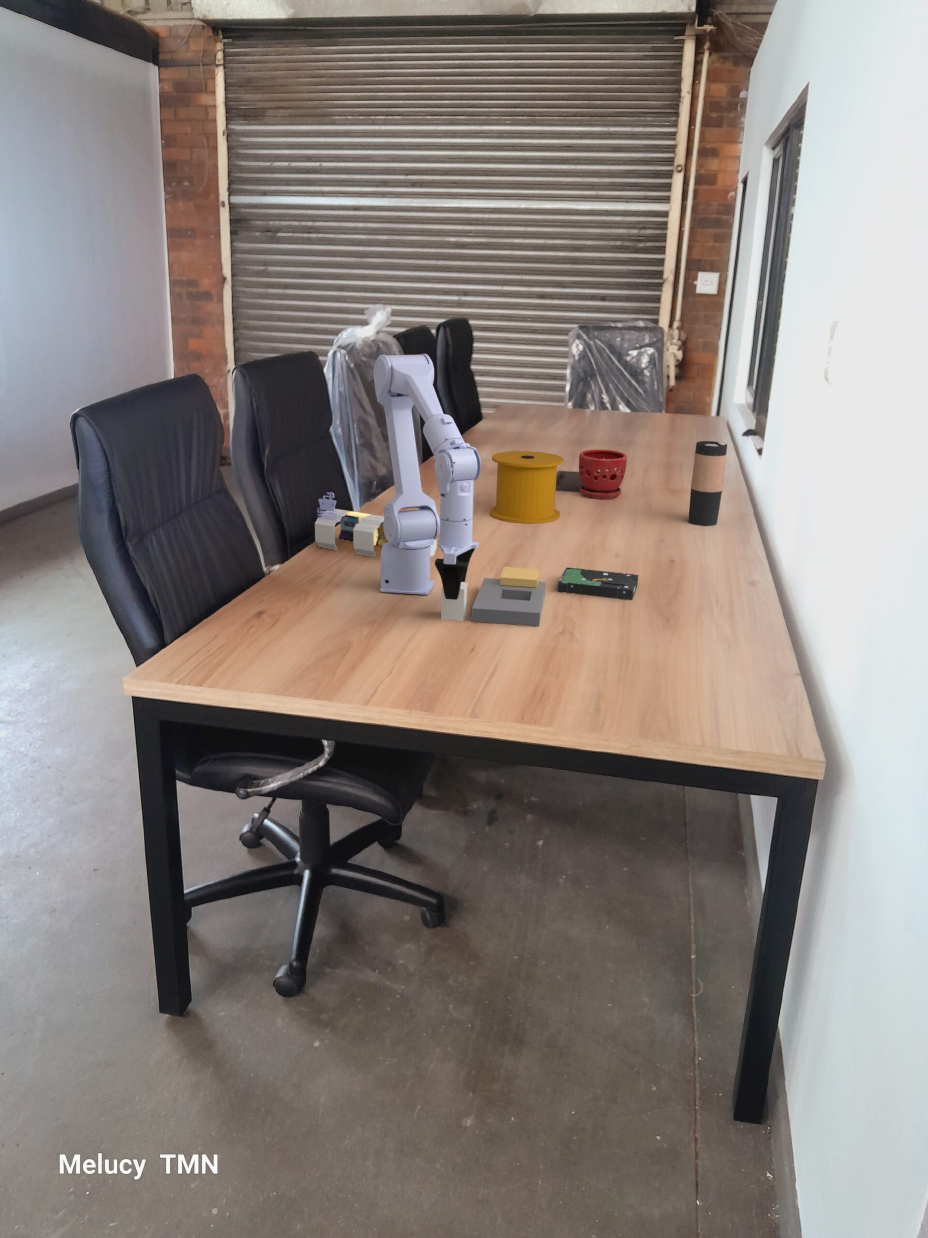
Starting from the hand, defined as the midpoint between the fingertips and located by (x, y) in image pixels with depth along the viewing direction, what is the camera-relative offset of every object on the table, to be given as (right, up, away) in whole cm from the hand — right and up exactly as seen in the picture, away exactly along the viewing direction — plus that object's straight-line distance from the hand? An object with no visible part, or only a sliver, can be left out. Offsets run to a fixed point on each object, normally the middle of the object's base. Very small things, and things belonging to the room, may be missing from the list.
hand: (454, 592), depth 170 cm
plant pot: (+40, +30, +97) cm, 109 cm away
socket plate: (+10, -3, +7) cm, 13 cm away
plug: (0, -4, +2) cm, 5 cm away
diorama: (-18, +10, +40) cm, 45 cm away
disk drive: (+28, +1, +19) cm, 34 cm away
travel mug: (+62, +20, +72) cm, 97 cm away
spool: (+17, +22, +74) cm, 79 cm away
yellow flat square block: (+12, +3, +14) cm, 19 cm away
